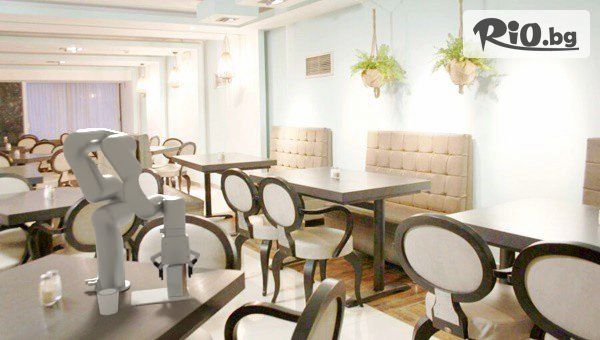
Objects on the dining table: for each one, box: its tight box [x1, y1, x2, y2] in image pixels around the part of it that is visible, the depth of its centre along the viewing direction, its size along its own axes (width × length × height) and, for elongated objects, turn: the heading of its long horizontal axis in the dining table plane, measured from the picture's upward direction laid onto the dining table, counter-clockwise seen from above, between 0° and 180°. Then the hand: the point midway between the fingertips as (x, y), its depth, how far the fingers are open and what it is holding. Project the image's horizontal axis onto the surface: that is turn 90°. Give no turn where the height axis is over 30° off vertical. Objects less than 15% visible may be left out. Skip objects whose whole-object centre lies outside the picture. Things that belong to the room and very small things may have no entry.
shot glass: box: [96, 288, 120, 316], centre depth 173 cm, size 7×7×7 cm
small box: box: [165, 263, 188, 296], centre depth 188 cm, size 8×6×10 cm
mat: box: [130, 284, 192, 307], centre depth 187 cm, size 20×13×1 cm, turn 107°
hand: (175, 277), depth 188 cm, fingers open, 9 cm apart
